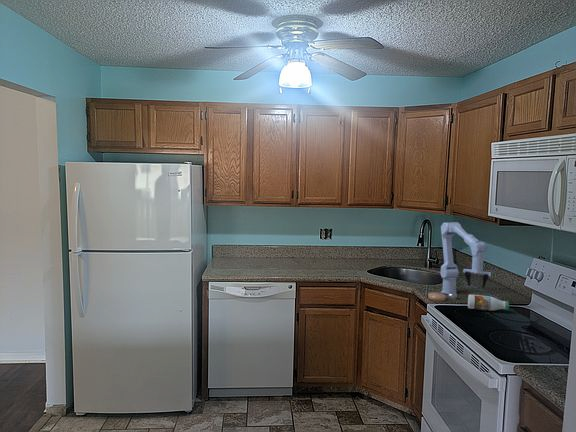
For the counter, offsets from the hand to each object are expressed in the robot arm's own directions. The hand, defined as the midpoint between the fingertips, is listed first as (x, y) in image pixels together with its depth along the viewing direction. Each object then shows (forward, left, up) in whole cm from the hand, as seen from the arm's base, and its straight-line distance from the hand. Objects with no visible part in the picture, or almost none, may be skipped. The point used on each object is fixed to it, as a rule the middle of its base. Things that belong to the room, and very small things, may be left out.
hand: (476, 286), depth 242 cm
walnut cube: (-1, +1, -10) cm, 10 cm away
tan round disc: (+4, -20, -10) cm, 23 cm away
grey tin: (-3, -13, -10) cm, 17 cm away
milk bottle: (+12, -2, -6) cm, 13 cm away
